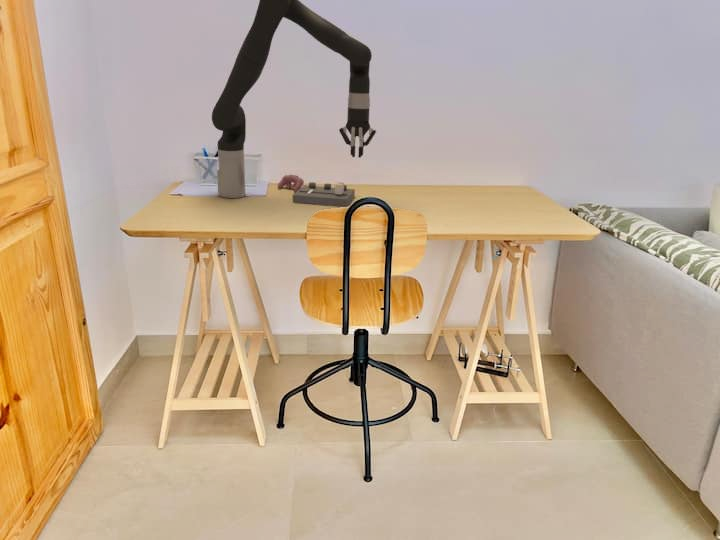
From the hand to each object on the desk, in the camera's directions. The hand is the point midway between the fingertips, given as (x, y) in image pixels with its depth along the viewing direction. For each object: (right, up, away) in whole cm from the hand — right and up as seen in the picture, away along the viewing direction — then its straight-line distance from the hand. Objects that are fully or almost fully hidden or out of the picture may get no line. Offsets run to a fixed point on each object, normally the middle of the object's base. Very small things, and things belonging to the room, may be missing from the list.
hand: (356, 156), depth 197 cm
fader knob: (-6, -12, +6) cm, 15 cm away
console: (-12, -14, +10) cm, 21 cm away
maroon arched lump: (-26, -9, +22) cm, 35 cm away
